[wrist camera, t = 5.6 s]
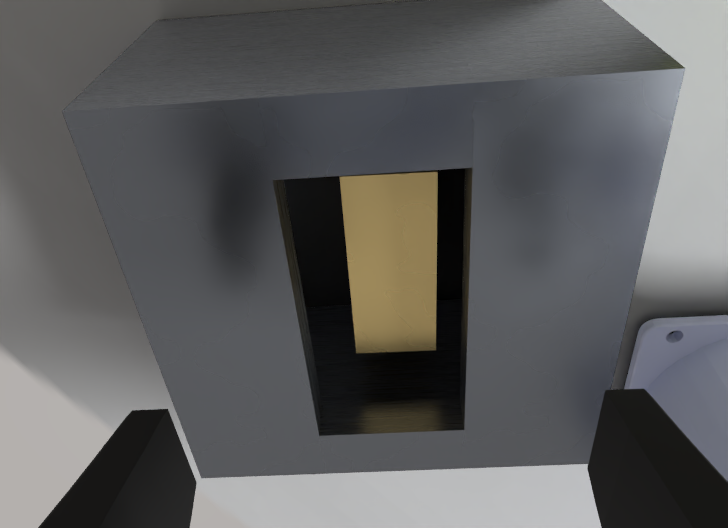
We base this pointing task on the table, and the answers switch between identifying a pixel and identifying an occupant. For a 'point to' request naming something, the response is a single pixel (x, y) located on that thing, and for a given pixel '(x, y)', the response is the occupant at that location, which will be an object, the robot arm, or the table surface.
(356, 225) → the block
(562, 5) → the box
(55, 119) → the table surface
